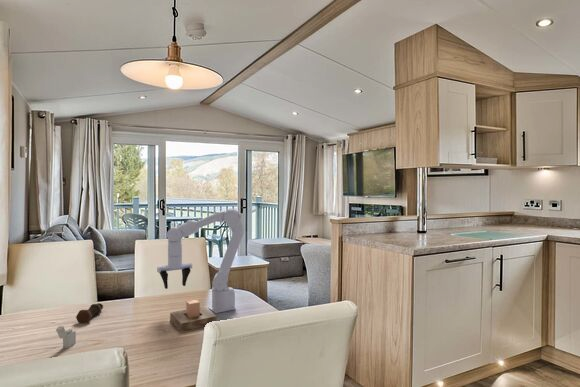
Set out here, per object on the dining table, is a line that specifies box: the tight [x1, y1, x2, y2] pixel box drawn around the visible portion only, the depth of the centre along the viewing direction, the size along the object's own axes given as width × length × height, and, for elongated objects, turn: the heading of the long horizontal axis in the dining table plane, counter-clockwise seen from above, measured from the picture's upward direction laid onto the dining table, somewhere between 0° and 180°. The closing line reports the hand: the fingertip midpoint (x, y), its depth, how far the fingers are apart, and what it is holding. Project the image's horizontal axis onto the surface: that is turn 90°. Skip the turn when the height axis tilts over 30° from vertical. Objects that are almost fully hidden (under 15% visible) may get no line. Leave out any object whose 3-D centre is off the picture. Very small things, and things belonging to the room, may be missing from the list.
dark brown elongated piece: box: [75, 302, 104, 324], centre depth 152 cm, size 6×5×15 cm
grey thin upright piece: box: [55, 325, 77, 349], centre depth 123 cm, size 7×2×8 cm, turn 173°
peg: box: [185, 299, 201, 318], centre depth 147 cm, size 4×4×8 cm
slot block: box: [169, 306, 218, 332], centre depth 146 cm, size 14×14×3 cm
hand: (175, 286), depth 159 cm, fingers open, 7 cm apart
